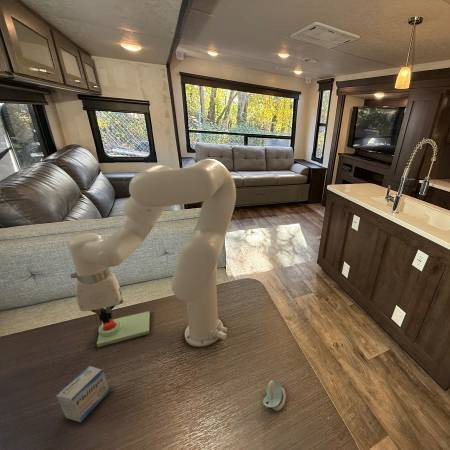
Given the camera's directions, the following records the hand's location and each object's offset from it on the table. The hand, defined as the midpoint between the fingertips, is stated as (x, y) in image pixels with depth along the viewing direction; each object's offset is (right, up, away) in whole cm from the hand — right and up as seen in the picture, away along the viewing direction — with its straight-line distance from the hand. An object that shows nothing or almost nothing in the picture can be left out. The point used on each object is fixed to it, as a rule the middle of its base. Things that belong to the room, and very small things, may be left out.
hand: (107, 320), depth 81 cm
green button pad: (+3, -5, +4) cm, 7 cm away
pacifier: (+56, -17, -12) cm, 60 cm away
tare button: (0, -3, +1) cm, 3 cm away
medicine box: (+9, -15, -18) cm, 25 cm away
